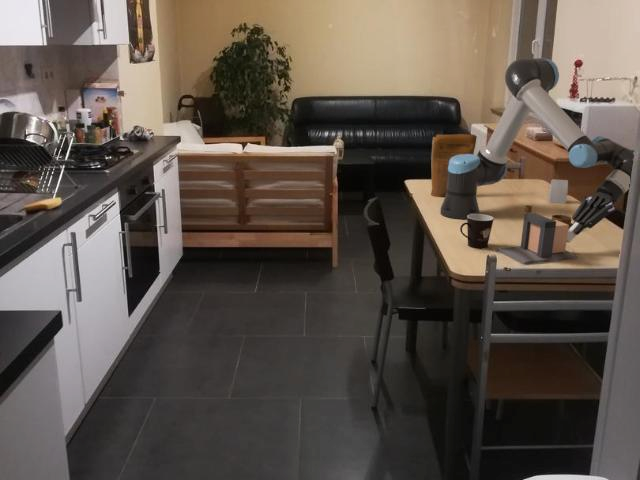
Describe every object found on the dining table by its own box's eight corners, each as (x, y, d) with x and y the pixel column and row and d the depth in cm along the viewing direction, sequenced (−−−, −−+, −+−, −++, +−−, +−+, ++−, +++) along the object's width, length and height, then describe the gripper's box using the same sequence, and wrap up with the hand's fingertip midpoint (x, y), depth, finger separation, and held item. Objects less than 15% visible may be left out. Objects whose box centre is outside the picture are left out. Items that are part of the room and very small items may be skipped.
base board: (523, 264, 195) (524, 261, 195) (497, 250, 208) (498, 248, 207) (578, 258, 201) (578, 255, 201) (549, 245, 214) (549, 243, 214)
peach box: (539, 254, 201) (542, 227, 198) (527, 248, 206) (530, 222, 204) (565, 251, 204) (568, 225, 201) (552, 246, 209) (556, 220, 207)
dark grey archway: (540, 257, 199) (545, 222, 195) (520, 247, 208) (524, 213, 205) (551, 256, 200) (556, 221, 196) (530, 246, 209) (534, 212, 206)
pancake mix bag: (472, 199, 278) (478, 135, 269) (428, 197, 279) (433, 133, 271) (470, 195, 284) (475, 133, 276) (427, 194, 286) (431, 131, 277)
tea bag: (565, 203, 273) (568, 181, 270) (549, 202, 274) (552, 180, 271) (564, 201, 276) (567, 179, 273) (548, 200, 277) (551, 178, 274)
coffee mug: (486, 242, 217) (489, 214, 214) (493, 250, 209) (497, 220, 206) (452, 241, 216) (455, 213, 213) (459, 249, 208) (461, 220, 205)
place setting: (545, 234, 229) (547, 218, 227) (520, 219, 248) (522, 205, 246) (589, 233, 232) (592, 218, 230) (562, 219, 250) (564, 204, 249)
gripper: (635, 198, 202) (585, 252, 202) (605, 190, 214) (558, 241, 214) (624, 183, 199) (574, 238, 199) (594, 175, 211) (547, 227, 210)
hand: (565, 239), depth 206 cm, fingers closed
